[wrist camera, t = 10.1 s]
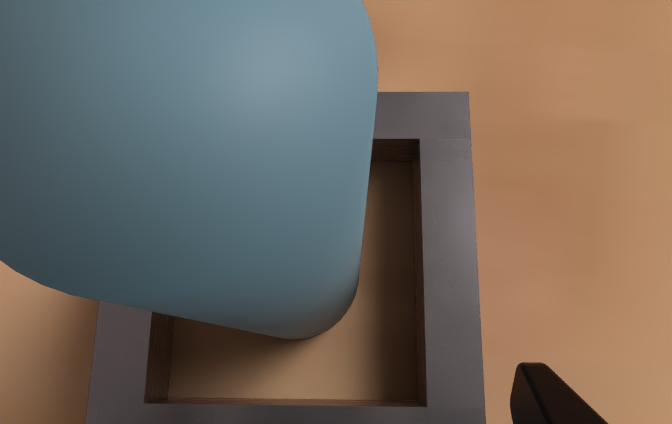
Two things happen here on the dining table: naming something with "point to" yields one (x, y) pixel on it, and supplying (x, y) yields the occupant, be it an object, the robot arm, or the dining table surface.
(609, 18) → the dining table surface
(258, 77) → the pin
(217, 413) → the grey square frame handle
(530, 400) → the robot arm
